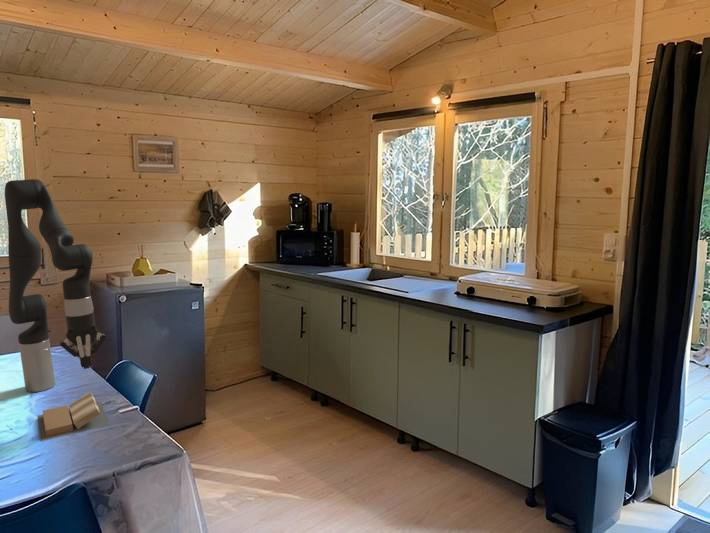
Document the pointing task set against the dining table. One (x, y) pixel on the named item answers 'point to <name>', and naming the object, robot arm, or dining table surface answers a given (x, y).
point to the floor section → (66, 422)
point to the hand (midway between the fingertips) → (86, 367)
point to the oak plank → (84, 410)
